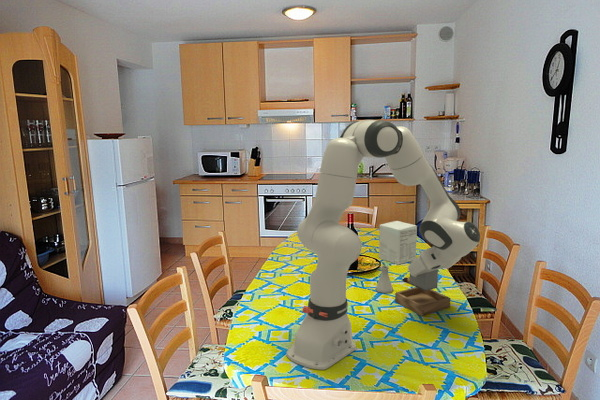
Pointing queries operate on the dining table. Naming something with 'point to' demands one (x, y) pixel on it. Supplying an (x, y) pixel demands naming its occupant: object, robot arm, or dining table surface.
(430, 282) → the small crate
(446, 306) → the tray
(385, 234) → the supplement box
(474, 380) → the dining table surface
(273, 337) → the dining table surface
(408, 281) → the bread roll
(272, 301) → the dining table surface
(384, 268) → the flask
